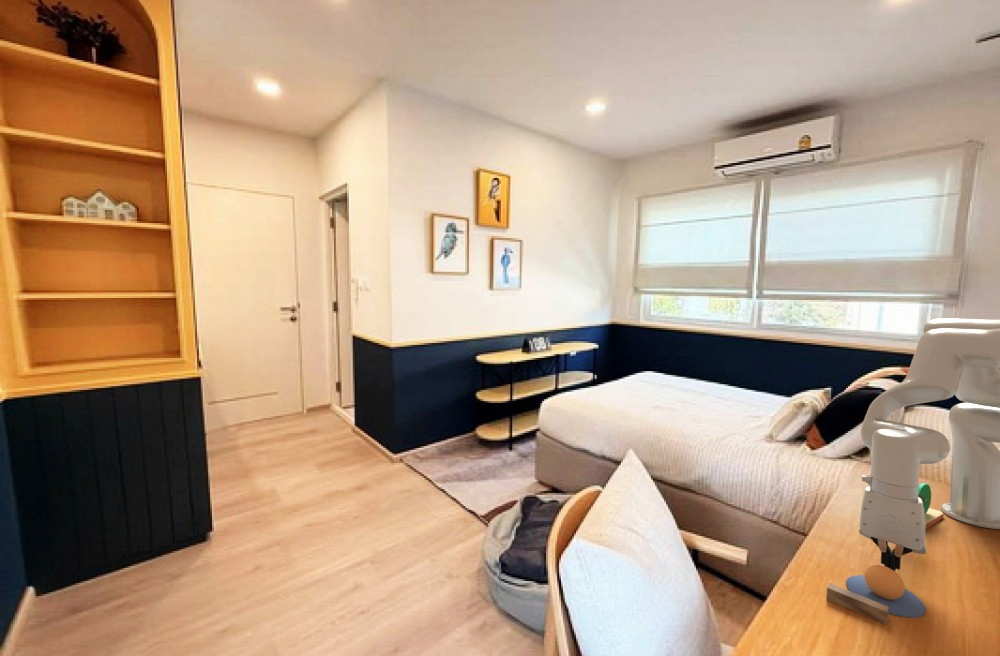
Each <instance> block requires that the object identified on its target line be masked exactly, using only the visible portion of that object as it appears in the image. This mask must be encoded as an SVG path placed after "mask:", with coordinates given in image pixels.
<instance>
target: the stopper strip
mask: <svg viewBox="0 0 1000 656" xmlns="http://www.w3.org/2000/svg"><path fill="white" fill-rule="evenodd" d="M826 600H828V601H830V602H832V603H835V604H837V605H839V606H841V607H844V608H846V609H848V610H850V611H854V612H856V613H858V614H861V615H862V616H865V617H867V618H870V619H872V620H874V621H877V622H879V623H881V624H883V625H886V626H887V625H888V623H889V622H888V621H889V614H890V613H889V607H888V606H886V605H883V604H881V603H878V602H876V601H873V600H871V599H868V598H866V597H863V596H861V595H858V594H856V593H853V592H851V591H849V589H845V588H843V587H840V586H837V585H835V584H833V583H828V585H827V587H826Z"/></svg>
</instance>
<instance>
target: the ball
mask: <svg viewBox="0 0 1000 656" xmlns="http://www.w3.org/2000/svg"><path fill="white" fill-rule="evenodd" d="M864 576H865V581H866V584H867V585H868V587H869V588H870V589H871V590H872V591H873V592H874V593H875V594H876V595H878V596H880V597H882V598H885V599H889V600H894V599H898V598H900V597H901V596H902V595H903V594H904V590H905V589H906V588H905V583H904V581H903V579H902V578H901V576H900V575H899V574H898V573H897V572H896V571H893V570H892V569H890V568H888V567H885V565H882V564H879V565H878V564H877V565H872V566H869V567H868V568H866V570H865V572H864Z"/></svg>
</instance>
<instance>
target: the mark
mask: <svg viewBox="0 0 1000 656" xmlns="http://www.w3.org/2000/svg"><path fill="white" fill-rule="evenodd" d="M845 585H846V588H847V590H848V591H851V592H853V593H856V594H858V595H861V596H863V597H866V598H868V599H871V600H873V601H876V602H878V603H881V604H883V605H886V606H888V607H889V614H890V615H894V616H897V617H902V618H920V617H923V616H924V615H925V614H926V612H927V611H926V610H927V607H926V605H925V604H924V602H923V601H922V600H921V599H920V598H919V597H918V596H917V595H915V594H914V593H913V592H911V591H910V590H908V589H906V588H905V590H904V594H903V595H902V596H901V597H900V598H898V599H894V600H889V599H885V598H882V597H880V596H878V595H876V594H875V593H874V592H873V591H872V590H871V589H870V588H869V587H868V585H867V584H866V581H865V575H862V574H860V575H851V576H849V577H847V579H846V581H845Z"/></svg>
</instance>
